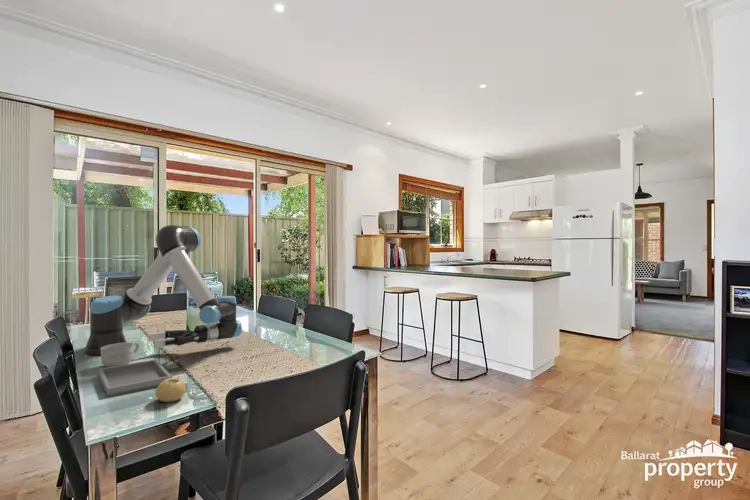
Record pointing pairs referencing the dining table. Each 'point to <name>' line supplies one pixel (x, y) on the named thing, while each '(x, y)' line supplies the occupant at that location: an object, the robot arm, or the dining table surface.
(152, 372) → the tray
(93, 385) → the dining table surface
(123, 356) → the teacup
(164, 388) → the onion
